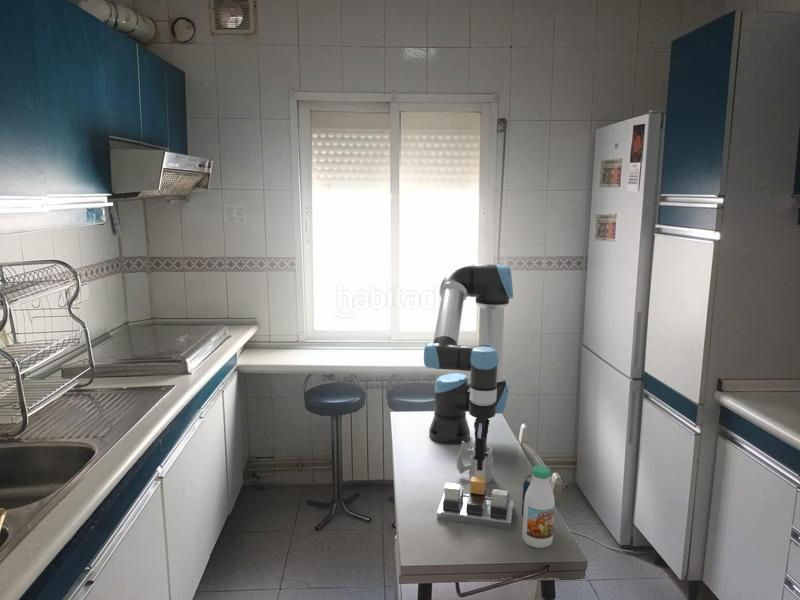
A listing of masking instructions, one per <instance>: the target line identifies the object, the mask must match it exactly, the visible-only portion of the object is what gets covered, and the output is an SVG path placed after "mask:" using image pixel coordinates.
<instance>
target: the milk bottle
mask: <svg viewBox="0 0 800 600" xmlns="http://www.w3.org/2000/svg"><path fill="white" fill-rule="evenodd" d="M531 475H532V477H533V478H532V481H531V484H530V486H529V487H528V489H527V491H526V494H525V499H524V512H523V517H522V529H521V530H522V531H521V532H522V534H521V538H522V540H523V542H524V543H525V544H526V545H528V546H530V547H532V548H535V549H547V548H548V547H550V546H551V545H552V544H553V539H554V525H555V524H554V523H555V506H556V505H555V503H556V501H555V495H554V492H553V489H552V486H551V484H550V480H551V469H550V468H549V467H548V466H546V465H542V464H541V465H540V464H537V465H534V466H533V467H532V468H531Z"/></svg>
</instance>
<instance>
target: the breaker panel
mask: <svg viewBox="0 0 800 600" xmlns="http://www.w3.org/2000/svg"><path fill="white" fill-rule="evenodd" d="M464 489H465V488H464V486H461V484H459V483H452V482H451V483H450V482H446V483H445V485H444V490H443V491H444V493H443V495H442V498H441V500H440V503H439V506H438V509H437V512H436V514H437V515H436V520H439V521H446V522H452V523H453V522H454V523H458V524H459V523H460V524H466V525H473V526H480V527H486V528H494V529H502V530H508V531H511V529H512V523H513V522H512V521H513V512H514V500H510V493H509V492H508V490H505V489H497V488H492V492H491V497H490V496H487V489H485V493H484V495H482V494H475V493H470V492H469V493H464Z"/></svg>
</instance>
